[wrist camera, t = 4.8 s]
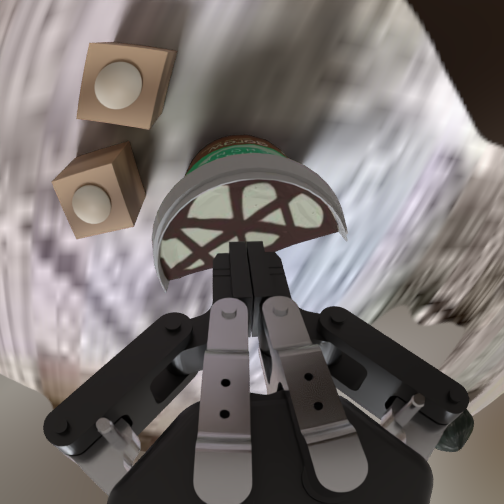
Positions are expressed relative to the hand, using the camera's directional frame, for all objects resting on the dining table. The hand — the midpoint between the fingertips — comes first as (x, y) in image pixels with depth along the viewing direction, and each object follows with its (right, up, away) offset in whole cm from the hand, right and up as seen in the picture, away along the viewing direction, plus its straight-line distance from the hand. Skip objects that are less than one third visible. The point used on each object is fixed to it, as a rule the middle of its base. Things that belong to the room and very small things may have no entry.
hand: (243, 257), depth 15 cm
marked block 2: (-11, +7, +10) cm, 16 cm away
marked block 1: (-8, +13, +5) cm, 16 cm away
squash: (+58, -48, +60) cm, 96 cm away
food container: (-1, +8, +10) cm, 13 cm away
